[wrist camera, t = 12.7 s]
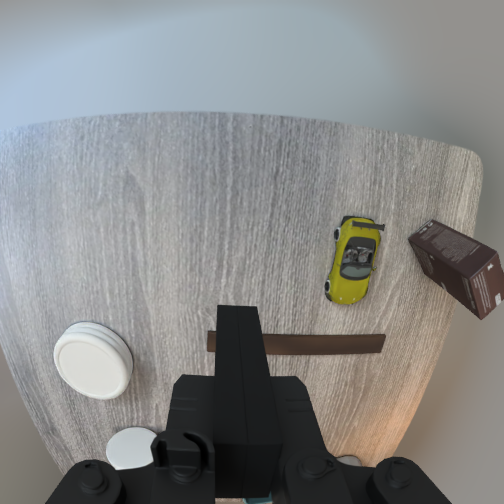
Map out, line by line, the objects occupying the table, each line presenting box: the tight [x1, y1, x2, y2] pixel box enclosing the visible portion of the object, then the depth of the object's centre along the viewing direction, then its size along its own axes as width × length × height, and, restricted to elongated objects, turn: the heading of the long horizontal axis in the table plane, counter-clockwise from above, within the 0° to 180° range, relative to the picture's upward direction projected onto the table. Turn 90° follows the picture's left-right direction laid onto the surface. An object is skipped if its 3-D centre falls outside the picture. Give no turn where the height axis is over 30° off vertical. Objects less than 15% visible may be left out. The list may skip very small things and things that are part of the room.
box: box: [408, 219, 504, 320], centre depth 29 cm, size 6×4×12 cm
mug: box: [106, 427, 157, 470], centre depth 36 cm, size 8×10×12 cm
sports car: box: [325, 216, 385, 304], centre depth 33 cm, size 5×10×3 cm, turn 173°
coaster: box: [54, 322, 133, 400], centre depth 34 cm, size 10×10×4 cm
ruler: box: [207, 331, 386, 355], centre depth 37 cm, size 3×22×1 cm, turn 84°
